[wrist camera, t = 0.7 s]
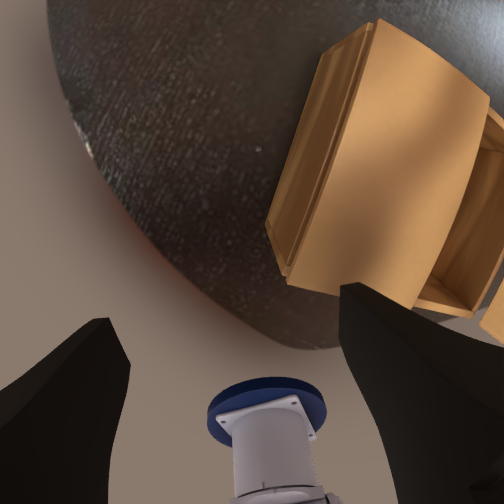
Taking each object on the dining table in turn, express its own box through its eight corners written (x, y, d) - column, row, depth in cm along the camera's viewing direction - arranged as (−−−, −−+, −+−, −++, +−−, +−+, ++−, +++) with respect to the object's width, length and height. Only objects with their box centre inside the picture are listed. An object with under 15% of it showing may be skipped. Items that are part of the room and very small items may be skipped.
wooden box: (473, 141, 16) (546, 160, 10) (422, 272, 20) (478, 326, 14) (321, 53, 14) (377, 15, 7) (264, 224, 18) (284, 285, 11)
